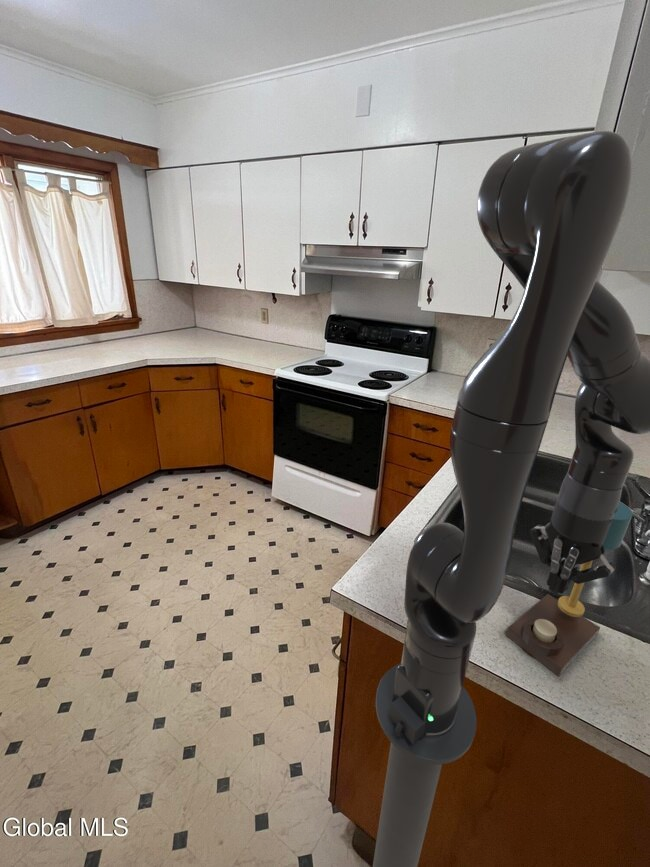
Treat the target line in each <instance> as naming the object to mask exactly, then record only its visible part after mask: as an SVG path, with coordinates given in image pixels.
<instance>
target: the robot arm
mask: <svg viewBox="0 0 650 867" xmlns="http://www.w3.org/2000/svg"><path fill="white" fill-rule="evenodd" d="M631 154H632V153H631V151H630V147H629V144H628V143H627V141H626V140H625V138H624V137H623V136H622V135H621V134H619V133H618V132H614V131H610V130H604V131H603V130H600V131H591V132H585V133H580V134H575V135H570V136H565V137H558V138H555V139H550V140H545V141H541V142H535V143H530V144H527V145H524V146H520V147H517V148H513V149H510V150H509V151H507V152H505V153H503V154H502V155H500V156H499V157H498V158H497V159H496V160H495V161H494V162H493V163H492V164H490V166H489V167H488V169H487V170H486V173H485V174H484V177H483V178H482V180H481V184H480V186H479V190H478V193H477V200H476V216H477V221H478V225H479V228H480V231H481V233H482V235H483V237H484V239H485V241H486V242H487V243H488V246H490V248H491V249H492V251H493V252H494V253H495V254H496V256H497V257H498V258H499V259H500V261H501V262H502V263H503V264H504V265H505V267H506V268H507V269H508V270H509V272H510V273H511V274H512V275H513V276H514V278H515V279H516V280H517V281H518V283H519V285H521V287H522V288H523V289H524V290H523V293H522V296H521V299H520V302H519V304H518V306H517V309H516V311H515V312H514V315H513V317H512V318H511V320H510V321H509V323H508V324H507V325H506V327H505V328H504V329H503V331H502V332H501V333H500V335H499V336H498V337H497V338H496V339H495V341H494V342H493V343H492V344H490V346H489V347H488V349H486V351H485V352H484V353H483V354H482V355H481V356H480V358H479V359H478V360H477V361H476V363H475V364H474V365H473V366H472V367H471V369H470V370H469V372H468V373H467V375H466V376H465V377H464V379H463V381H462V383H461V385H460V389H459V392H458V396H457V401H456V403H455V409H454V414H453V418H452V422H451V428H450V434H449V451H450V459H451V465H452V469H453V474H454V477H455V482H456V485H457V488H458V492H459V497H460V500H461V506H462V512H463V519H464V522H463V523H464V529H463V530H464V531H463V530H462V529H460V527H458V526H456V525H454V524H452V523H450V522H439V523H435V524H432V525H430V526H429V527H427V528H426V529H424V530H423V531H422V532H421V533H420V534H419V536H418V537H417V539H416V540H415V542H414V543H413V545H412V546H411V547H412V548H411V549H410V552H409V555H408V559H407V563H406V570H405V585H404V596H403V597H404V598H403V606H404V607H403V608H404V612H405V615H406V617H407V621H406V628H405V634H404V641H403V646H402V647H403V648H402V655H401V661H400V664H401V665H400V666H398V667H397V670H396V678H395V685H394V692H393V699H392V704H391V711H390V717H391V719H392V720H393V721H394V722H395V723H396V725H397V727H396V730H395V734H396V736H397V737H405V736H406V737H407V738H408V739H409V740H410V741H411V743H412V744H413V743H415V742H416V741H417V740H418V739H419V740H422V739H423V738H424V737H438V736H442V735H444V734H446V733H447V732H448V731H450V729H451V728H452V727H453V725H454V723H455V719H456V715H457V708H458V704H459V700H460V696H461V692H462V688H463V687H464V684H465V679H466V676H467V671H468V666H469V662H470V659H471V655H472V651H473V647H474V643H475V640H476V639H475V638H476V634H477V622H478V621H480V620H482V619H483V618H485V616H486V615H487V614H489V612H490V611H491V610H492V609H493V608H494V606H495V605H496V603H497V601H498V599H499V598H500V595H501V594H502V591H503V588H504V585H505V582H506V579H507V575H508V570H509V565H510V561H511V555H512V550H513V544H514V539H515V534H516V528H517V522H518V519H519V515H520V510H521V507H522V503H523V500H524V497H525V493H526V489H527V486H528V483H529V479H530V476H531V473H532V471H533V467H534V465H535V462H536V458H537V457H538V453H539V451H540V449H541V445H542V443H543V438H544V435H545V432H546V429H547V426H548V422H549V419H550V416H551V412H552V408H553V404H554V400H555V397H556V393H557V389H558V386H559V383H560V379H561V377H562V374H563V371H564V367H565V364H566V361H567V360H568V361H569V363H570V366H571V368H572V369H573V372H574V374H575V376H576V377H577V379H578V380H579V381H580V382H581V384H580V385H579V387H578V389H577V391H576V394H575V400H574V428H575V429H574V438H575V439H574V441H575V444H574V450H573V453H572V456H571V459H570V463H569V467H568V469H567V471H566V474H565V476H564V478H563V480H562V483H561V485H560V488H559V492H558V495H557V499H556V501H555V504H554V508H553V511H552V514H551V516H550V521H549V522H548V523H546V524H545V525H542V524H537V525H536V526H534V527H532V528H531V529H529V536H530V537H531V541H532V542H533V544H534V547H535V551H536V552H537V555H538V557H539V560H540V561H541V562H540V563H542V564H544V565H547V566H548V568H549V574H548V577H547V580H546V585H547V586H548V590H549V591H550V592H552V593H553V594H555V595H560V594H561V595H563V594H564V593H565V592H566V591H567V590H569V587H570V584H571V582H572V581H573V583H574V584H575V583H576V584H580V583H584V582H585V583H587V582H593V581H596V580H599V579H600V580H601V579H605V578H608V577H609V576H610V575H612V573H613V572H614V571H615V570H616V569H617V567H616V565H615V563H612V562H609V560H608V559H606V557H605V556H604V554H605V550H606V549H604V541H605V538H606V535H607V533H608V530H609V528H610V525H611V522H612V520H613V517H614V515H615V513H616V512H617V509H618V504H619V502H621V498H622V492H623V488H624V485H625V483H626V480H627V478H628V475H629V472H630V470H631V467H632V464H633V461H634V457H635V456H634V451H633V449H632V447H631V446H630V445H629V444H627V443H626V442H625V441H623V439H621V438H620V437H618V436H617V435H616V434H615V432H614V431H613V428H612V427H614V428H616V429H617V430H621V431H623V432H627V433H630V434H633V435H644V434H648V433H650V359H649V358H648V357H647V356H645V354H644V353H643V352H642V349H641V346H640V343H639V339H638V336H637V333H636V330H635V326H634V323H633V321H632V319H631V317H630V315H629V314H628V312H627V310H626V309H625V307H624V306H623V304H622V303H621V302H620V301H619V300H618V298H616V297H615V296H614V295H613V294H612V292H610V291H609V290H608V289H607V288H606V287H605V286H604V284H602V283H601V282H600V281H599V280H598V277H599V275H600V273H601V271H602V268H603V265H604V263H605V261H606V259H607V256H608V254H609V252H610V249H611V247H612V244H613V242H614V239H615V236H616V234H617V231H618V228H619V226H620V224H621V221H622V217H623V215H624V211H625V208H626V205H627V202H628V199H629V198H628V197H629V193H630V190H631V189H630V188H631V182H632V173H633V172H632V171H633V160H632V155H631ZM592 560H593V561H594V560H595V562H594V563H592V566H591V567H590V568H588V569H585V570H581V571H579V570H580V569H578V568H579V567H580V566H581V564H584V563H586V562H589V561H592ZM585 583H584V584H585Z"/></svg>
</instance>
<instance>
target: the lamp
mask: <svg viewBox="0 0 650 867" xmlns="http://www.w3.org/2000/svg"><path fill="white" fill-rule="evenodd" d="M633 516H634V514H633V511H632V509H631V508H630V507H629V506H628V505H626V504H625V503H624V502H622V501H619V504H618V509H617V512H616V513H615V515H614V517H613V520H612V522H611V525H610V528H609V530H608V533H607V535H606V538H605V541H604V550H616V549H618V548H620V547H621V545H622V544H623V540H624V538H625V536H626V533H627V531H628V528H629V525H630V523H631V520H632V518H633ZM593 562H594V560H592V561H589V562H586V563H584V564H580V566H579V569H578V570H579V571H581V570H585V569H588V568H592V566H593ZM585 583H586V582H584V583H580V584H576V583H575V582H574V583H573V586H572V590H571V592H570V595H562V596H559V598H558V599H557V600H558V607H559V608H560V610H561V611H563V612H564V613H565V614H567V615H569V616H572V617H581V616H584V614H585V612H586V611H585V610H586V607H585V606H584V604H583V603H582V601H580V600H579V599H580V596H581V594H582V591H583V589H584V586H585Z"/></svg>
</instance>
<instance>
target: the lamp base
mask: <svg viewBox="0 0 650 867" xmlns="http://www.w3.org/2000/svg"><path fill="white" fill-rule="evenodd" d="M558 600H559V599H558V598H555V597H554V596H552V595H551V594H549V593H547V594H545V596H544V597H542V598H541V599H540V600H539V601H537V603H535V604H534V605H533V606H532V607H531V608H529V609H528V610H527V611H526V612H524V613H523V614H522V615H521V616H520V617H519V618H517V619H516V620H515V621H514V622H512V623H511V624H510V625H509V626H508V627H507V630H506V634H505V635H506V637H507V638H508V639H510V640H511V641H512V642H514V643H515V644H517V645H518V646H519V647H520V648H521V649H522V650H524V651H525V652H527V653H528V654H529V655H530V656H532V657H533V658H534V659H535V660H537V662H540V664H542V665H543V666H544V667H545V668H547V669H548V670H550V671H551V672H552V673H553V674H555V675H556V676H557V677H560V676H562V674H563V673H564V672H565V671H567V669H568V667H570V665H571V664H572V663H574V661H575V660H576V659H577V658H578V657H579V656H580V655H581V654H582V653H583V651H584V650H585V649H586V648H587V647H588V646H589V645H590V644H592V642H593V641H594V640H595V638H597V636H598V634H599V632H600V630H601V627H600V626H598V625H597V624H595V623H594V622H592V621H591V620H589V619H588V618H586V617H585V616H584V615H582V616H581V617H572V616H569V615H567V614H565V613H564V612H563V611H561V610H560V608H559V607H558ZM538 619H545V620H548V621H550V622H551V623H552V624H553V625H554V626H555V627H556V629H557V634H556V636H555V639H554V641H553V642H551V643H546V642H543V641H540V640H539V639H538V638H536V637H535V636H534V634H533V631H532V629H533V626H534V623H535V621H536V620H538Z"/></svg>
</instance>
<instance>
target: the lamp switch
mask: <svg viewBox="0 0 650 867" xmlns="http://www.w3.org/2000/svg"><path fill="white" fill-rule="evenodd" d="M532 631H533V634H534V636H535V637H536V638H538V639H539V640H540V641H543V642H546V643H551V642H553V641H554V639H555V636H556V634H557V629H556V627H555V626H554V625H553V624H552V623H551V622H550V621H548V620H545V619H538V620H536V621H535V623H534V626H533V629H532Z"/></svg>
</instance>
